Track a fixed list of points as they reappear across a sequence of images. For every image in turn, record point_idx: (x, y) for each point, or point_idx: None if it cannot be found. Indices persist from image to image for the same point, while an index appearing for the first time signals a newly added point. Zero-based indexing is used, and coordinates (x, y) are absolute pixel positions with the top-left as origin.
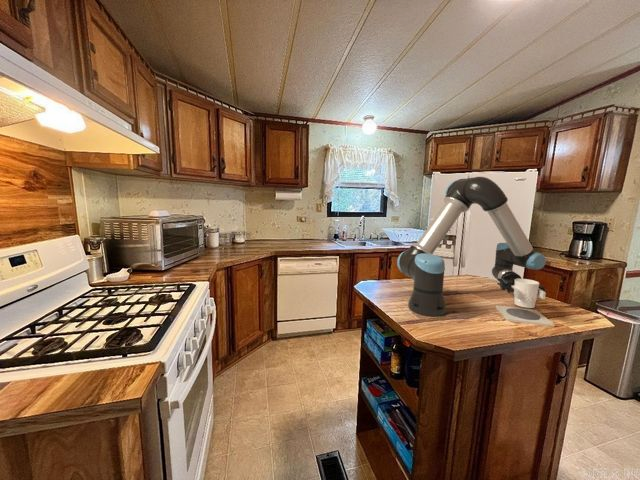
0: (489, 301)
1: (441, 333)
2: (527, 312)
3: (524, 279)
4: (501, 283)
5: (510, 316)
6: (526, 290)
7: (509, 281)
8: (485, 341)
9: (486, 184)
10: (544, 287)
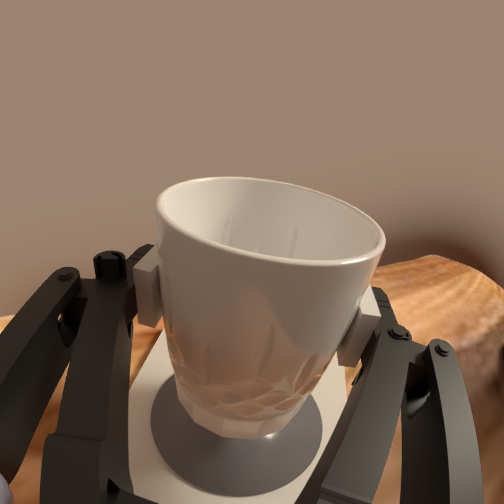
0: None
1: (465, 283)
2: (194, 433)
3: (237, 256)
4: (461, 392)
5: (321, 382)
6: (291, 243)
7: (370, 502)
8: (401, 268)
9: None
10: (51, 275)
